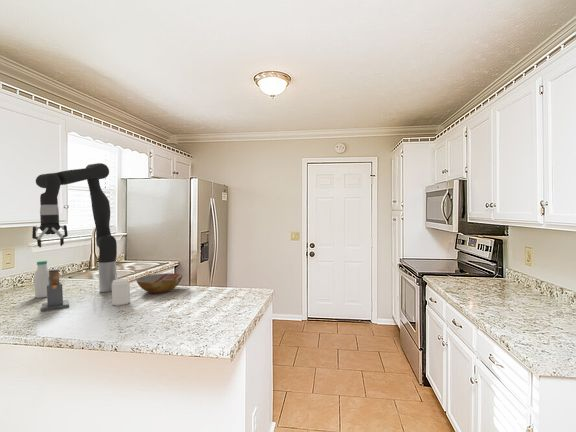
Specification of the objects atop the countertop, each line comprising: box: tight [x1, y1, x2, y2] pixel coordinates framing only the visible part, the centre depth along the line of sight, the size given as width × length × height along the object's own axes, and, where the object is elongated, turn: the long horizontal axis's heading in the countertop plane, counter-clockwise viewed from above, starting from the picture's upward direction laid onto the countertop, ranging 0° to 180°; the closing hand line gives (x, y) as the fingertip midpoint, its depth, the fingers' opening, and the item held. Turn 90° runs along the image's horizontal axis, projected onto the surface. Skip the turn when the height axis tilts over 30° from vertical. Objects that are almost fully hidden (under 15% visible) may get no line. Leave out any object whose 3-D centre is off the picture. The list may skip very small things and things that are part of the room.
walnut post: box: [48, 268, 60, 285], centre depth 165 cm, size 4×4×17 cm
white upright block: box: [111, 278, 131, 307], centre depth 167 cm, size 8×8×12 cm
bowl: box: [135, 272, 183, 295], centre depth 191 cm, size 25×25×8 cm
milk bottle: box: [33, 260, 50, 299], centre depth 187 cm, size 8×8×20 cm
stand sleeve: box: [40, 281, 70, 312], centre depth 165 cm, size 11×11×12 cm
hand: (50, 246), depth 165 cm, fingers open, 8 cm apart
